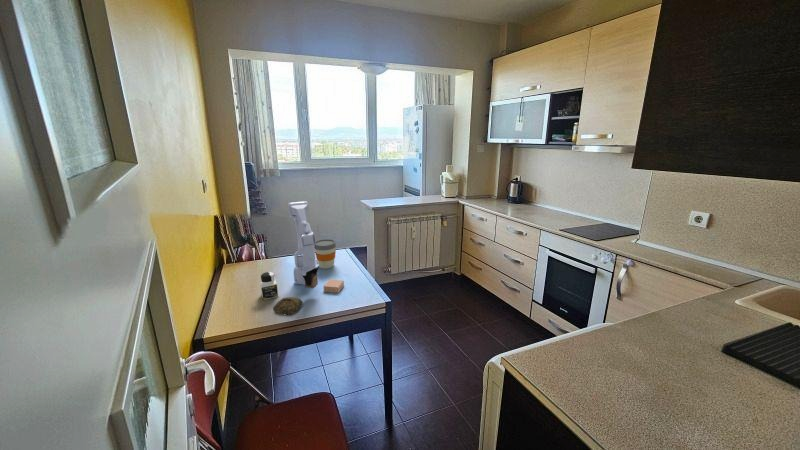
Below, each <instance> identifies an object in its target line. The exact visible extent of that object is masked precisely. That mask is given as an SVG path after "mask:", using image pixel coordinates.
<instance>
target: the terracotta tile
mask: <svg viewBox="0 0 800 450" xmlns="http://www.w3.org/2000/svg"><path fill="white" fill-rule="evenodd" d="M344 286H345V281H344V280H341V279H328V281H326V282H325V284H324V285H323V292H324V293H325V292H327V293H338V294H339V292H341V290H342V289H343V288H344Z"/></svg>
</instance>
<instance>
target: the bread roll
mask: <svg viewBox="0 0 800 450" xmlns="http://www.w3.org/2000/svg"><path fill="white" fill-rule="evenodd" d="M303 303H304V301H303V300H302V299H301V298H299V297H295V296H289V297H288V296H287V297H283V298H281V299H280V300H278V301H277V302H276V304H275V305H274V306H273V307H272V310H273V311H274V313H275V314H277V313H278V314H277V315H284V314H285V315H284V316H292V315H293V314H295V313H297V312H298V311H299V310H300V309H301V307H302V305H304V304H303Z"/></svg>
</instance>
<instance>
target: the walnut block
mask: <svg viewBox="0 0 800 450" xmlns="http://www.w3.org/2000/svg"><path fill="white" fill-rule="evenodd" d="M318 283H319V281H318V273H317V274H313V275H312V283H311V286H309V285H307V284H306V282H305V285H304V286H305V288H307V289H315V288H316V287H317V286H318Z"/></svg>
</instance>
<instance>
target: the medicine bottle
mask: <svg viewBox="0 0 800 450" xmlns="http://www.w3.org/2000/svg"><path fill="white" fill-rule="evenodd" d="M259 283H260V291H261V296H262V300H263V301H264V300H269V299H274V298H278V297H279V290H278V283H277V281H276V278H275V274H274V272H271V271H265V272H263V273H261V275H260V281H259Z"/></svg>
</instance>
